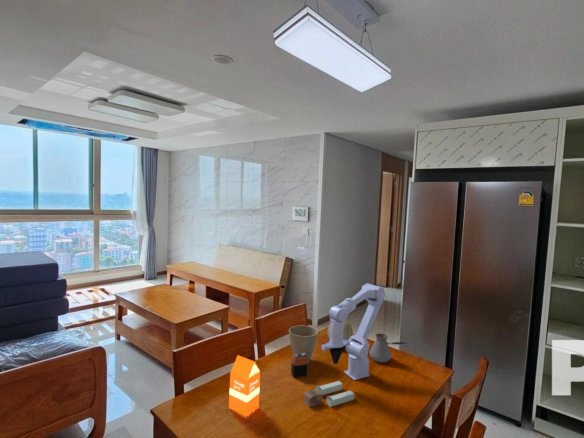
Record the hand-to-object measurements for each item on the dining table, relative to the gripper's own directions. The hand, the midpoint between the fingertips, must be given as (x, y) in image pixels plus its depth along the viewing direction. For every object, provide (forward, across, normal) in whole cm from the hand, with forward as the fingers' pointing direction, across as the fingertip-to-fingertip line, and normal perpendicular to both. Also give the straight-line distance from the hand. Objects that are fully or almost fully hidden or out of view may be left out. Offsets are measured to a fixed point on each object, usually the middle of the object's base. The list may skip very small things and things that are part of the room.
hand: (335, 363), depth 143 cm
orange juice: (+10, +43, 0) cm, 44 cm away
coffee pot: (+10, -37, -4) cm, 38 cm away
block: (+10, +16, +8) cm, 21 cm away
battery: (+10, +11, -13) cm, 20 cm away
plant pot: (+10, +3, -24) cm, 26 cm away
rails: (+9, +6, +8) cm, 14 cm away
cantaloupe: (+10, -27, -32) cm, 43 cm away
